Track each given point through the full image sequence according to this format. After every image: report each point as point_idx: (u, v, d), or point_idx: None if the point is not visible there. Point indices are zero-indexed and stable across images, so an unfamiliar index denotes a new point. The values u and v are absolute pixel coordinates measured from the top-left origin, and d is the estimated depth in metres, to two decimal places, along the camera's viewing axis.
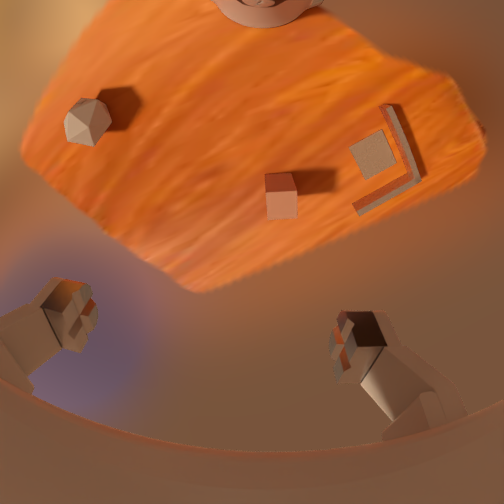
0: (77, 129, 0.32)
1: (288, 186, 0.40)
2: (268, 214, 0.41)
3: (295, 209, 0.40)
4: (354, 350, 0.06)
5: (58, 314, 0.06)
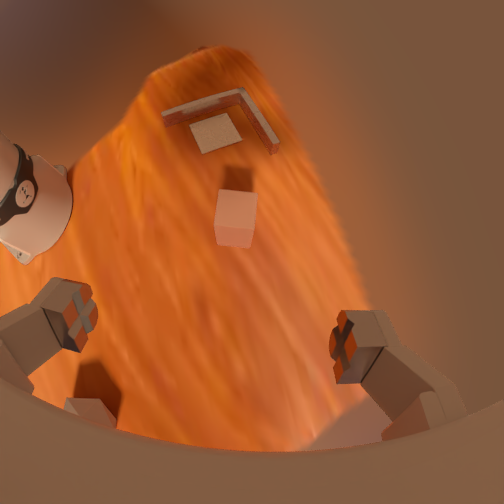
0: None
1: None
2: (246, 227, 0.30)
3: (244, 193, 0.31)
4: (354, 350, 0.06)
5: (58, 314, 0.06)
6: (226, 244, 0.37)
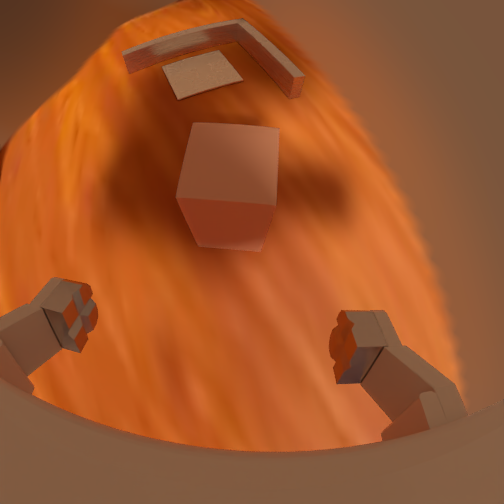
0: None
1: None
2: (255, 200, 0.12)
3: (250, 129, 0.13)
4: (354, 350, 0.06)
5: (58, 314, 0.06)
6: (214, 245, 0.19)
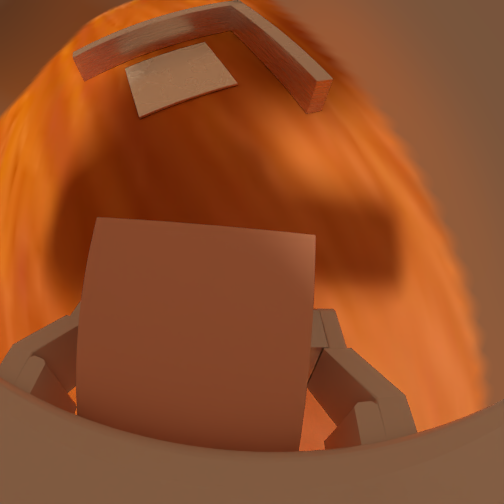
0: None
1: None
2: None
3: (236, 241, 0.05)
4: None
5: None
6: None
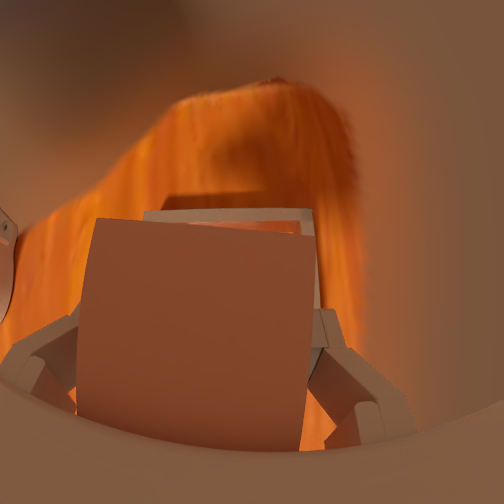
0: None
1: None
2: None
3: (237, 243, 0.05)
4: None
5: None
6: None
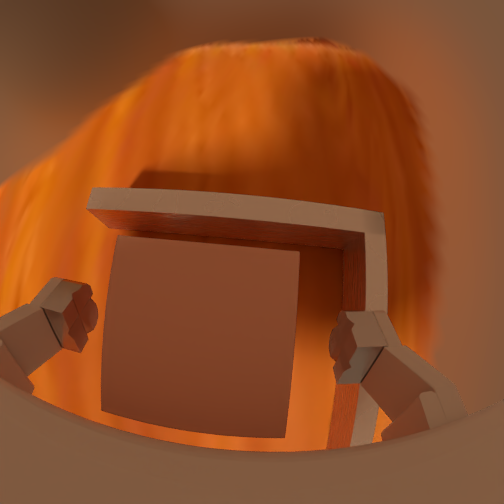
0: None
1: None
2: (246, 430, 0.05)
3: (235, 257, 0.06)
4: (354, 350, 0.06)
5: (58, 314, 0.06)
6: None
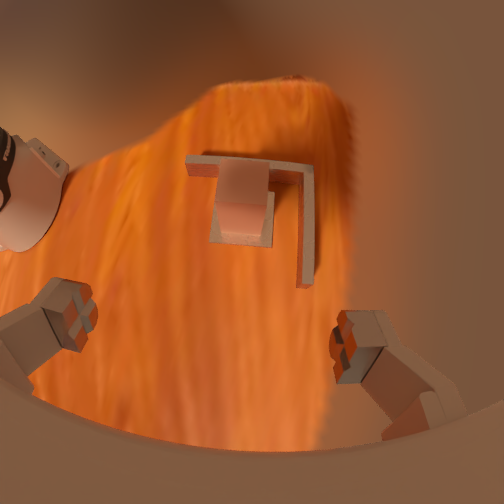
0: None
1: None
2: (256, 202, 0.23)
3: (253, 163, 0.24)
4: (354, 350, 0.06)
5: (58, 314, 0.06)
6: (231, 231, 0.30)
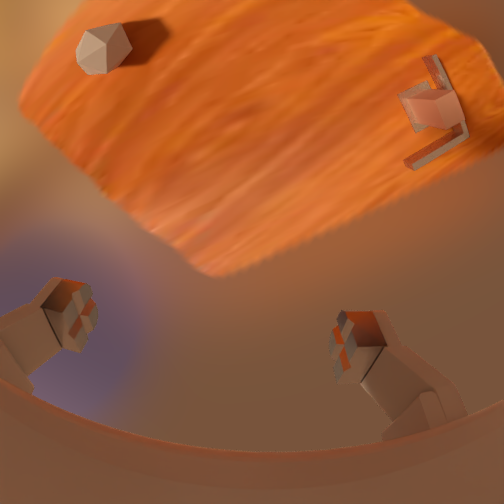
0: (91, 48, 0.23)
1: (442, 92, 0.26)
2: (444, 123, 0.26)
3: (460, 110, 0.25)
4: (354, 350, 0.06)
5: (58, 314, 0.06)
6: (412, 105, 0.32)
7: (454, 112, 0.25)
